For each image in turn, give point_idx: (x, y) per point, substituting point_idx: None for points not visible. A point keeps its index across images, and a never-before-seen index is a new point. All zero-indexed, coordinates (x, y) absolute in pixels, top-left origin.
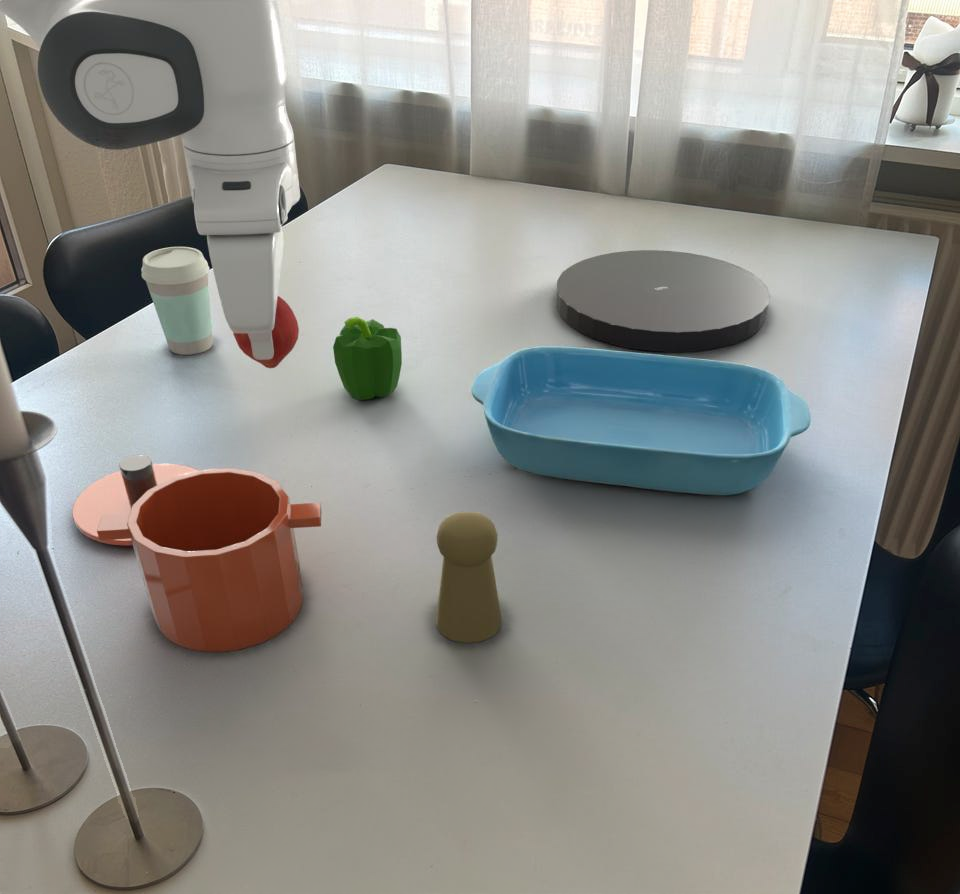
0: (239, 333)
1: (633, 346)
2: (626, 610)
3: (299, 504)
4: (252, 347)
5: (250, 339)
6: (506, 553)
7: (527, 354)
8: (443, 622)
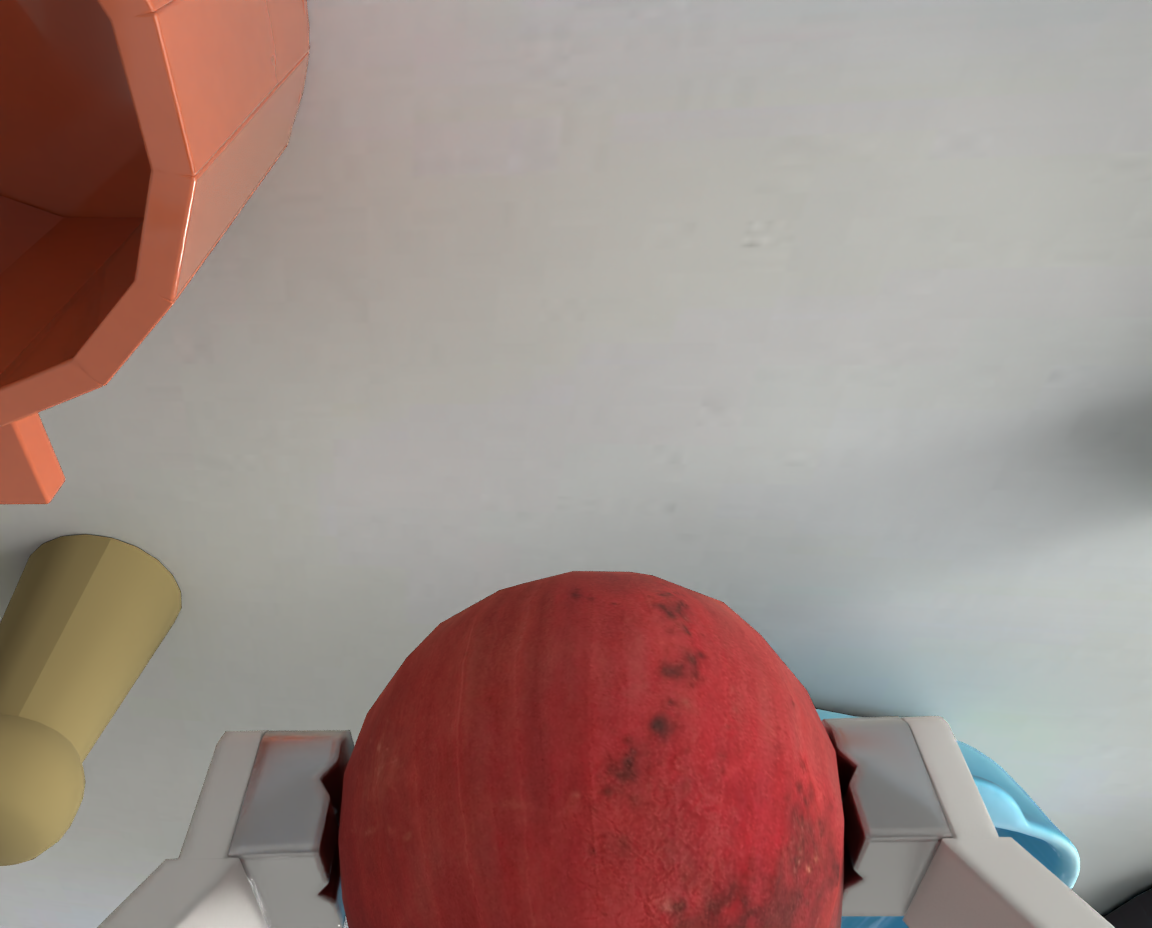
0: (413, 750)
1: (1135, 902)
2: (192, 795)
3: (16, 442)
4: (201, 805)
5: (145, 882)
6: (367, 661)
7: (1057, 859)
8: (30, 571)
